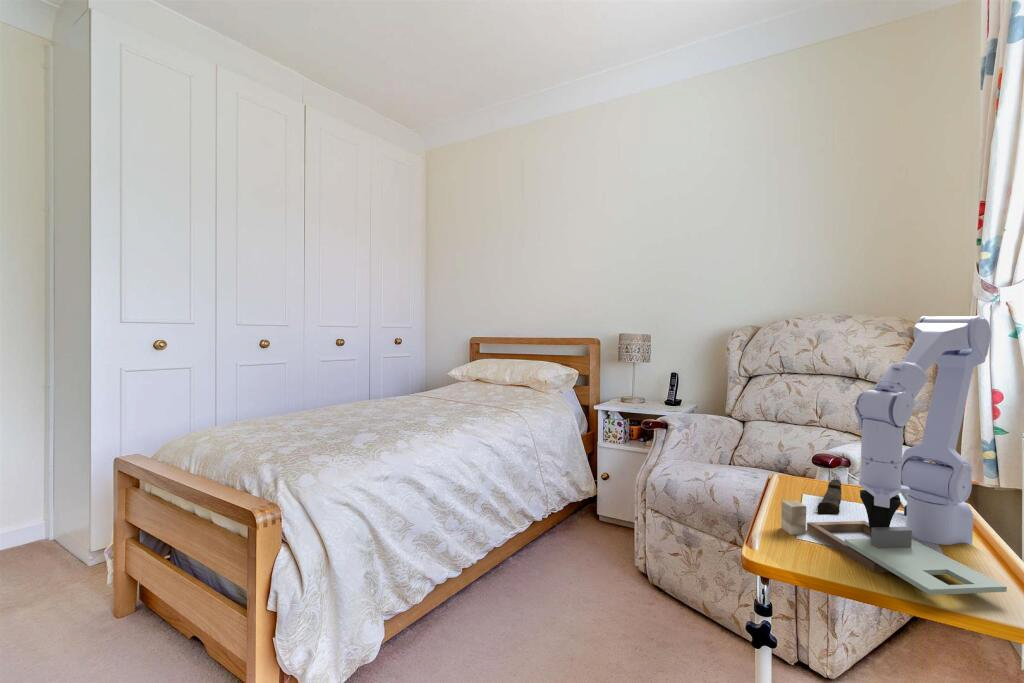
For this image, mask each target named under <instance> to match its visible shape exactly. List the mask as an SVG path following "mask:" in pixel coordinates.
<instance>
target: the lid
mask: <svg viewBox="0 0 1024 683" xmlns="http://www.w3.org/2000/svg"><path fill="white" fill-rule="evenodd" d="M870 536H871V537H868V538H867V537H866V538H845V539H844V541H845V542H844V544H846V545H848V546H849V547H851V548H853V549H854V550H856V551H858V552H859V553H861V554H863V555H864V556H866V557H867V558H869V559H871V560H872V561H874V562H876V563H877V564H879V565H881V566H882V567H884V568H886V569H887V570H889V571H891V572H890V573H892V574H894V575H896V576H898V577H899V578H900V579H902V580H904V581H906V583H907V582H908V583H909V584H911V585H912V586H914V588H917V589H918V590H921V591H922V592H924V594H927V595H929V596H935V595H938V596H939V595H941V596H942V595H962V594H963V595H965V594H966V595H967V594H989V593H1007V589H1008V588H1007V585H1004V584H1002V583H1001V582H998V581H997V580H995V579H992V578H991V577H988V576H987V575H985V574H982V573H981V572H978V571H976V570H975V569H973V568H971V567H969V566H967V565H965V564H964V563H963V564H962V563H960V562H959V561H956V560H955V559H952V558H951V557H949V556H947V555H944V554H943V553H941V552H938V551H937V550H935V549H933V548H930V547H928V546H927V545H925V544H923V543H920V542H919V541H916V540H914V539H913V536H912V530H910V529H908V528H906V526H890V527H872V529H871V535H870ZM940 575H942V576H943V575H944V576H945V575H947V576H949V577H951V578H953V579H955V580H957V581H959V582H961V583H963V584H947V582H946V583H945V582H944V581H943V580H941V579H938V578H937V577H935V576H940Z"/></svg>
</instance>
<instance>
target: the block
mask: <svg viewBox="0 0 1024 683" xmlns="http://www.w3.org/2000/svg"><path fill="white" fill-rule="evenodd" d="M780 515H781V516H780V529H782V530H783V531H784V532H786V533H788V534H789V535H790V536H794V535H806V533H807V505H805V504H803V503H801V502H800V501H798V500H796V499H795V500H794V499H793V500H781V514H780Z"/></svg>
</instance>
